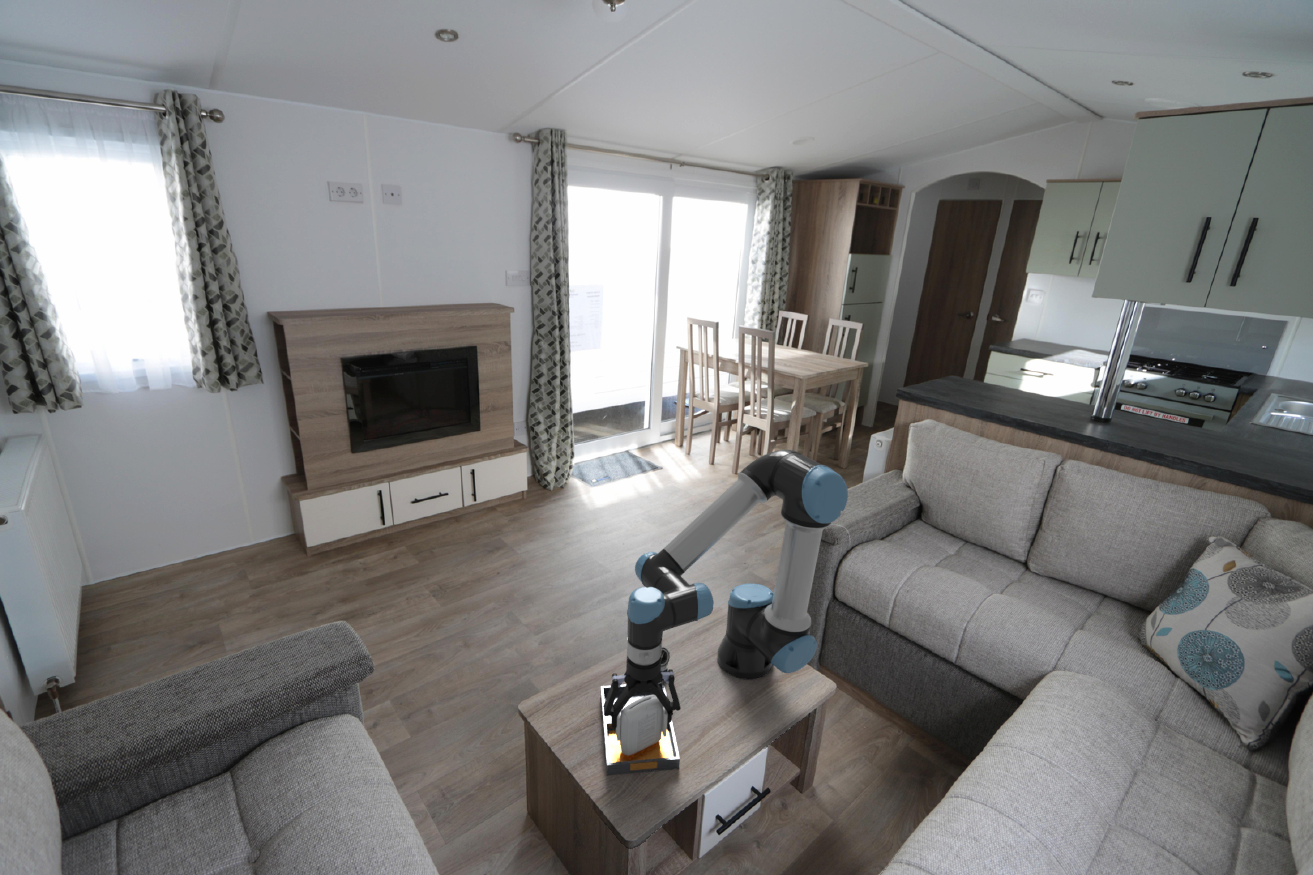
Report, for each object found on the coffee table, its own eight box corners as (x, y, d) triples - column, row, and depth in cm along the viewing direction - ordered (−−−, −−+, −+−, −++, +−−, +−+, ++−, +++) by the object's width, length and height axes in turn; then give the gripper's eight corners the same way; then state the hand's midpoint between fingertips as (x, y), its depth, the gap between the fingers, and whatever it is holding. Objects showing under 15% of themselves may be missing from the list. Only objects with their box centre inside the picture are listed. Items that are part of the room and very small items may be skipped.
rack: (663, 690, 159) (663, 681, 158) (679, 769, 137) (680, 759, 136) (600, 695, 157) (600, 686, 156) (607, 776, 134) (607, 766, 133)
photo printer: (654, 727, 145) (655, 686, 141) (664, 740, 142) (666, 698, 137) (616, 746, 140) (617, 703, 135) (626, 759, 136) (627, 716, 132)
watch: (655, 690, 159) (656, 656, 155) (637, 672, 165) (638, 639, 161) (671, 682, 162) (673, 648, 158) (653, 664, 168) (655, 631, 164)
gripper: (592, 670, 127) (592, 751, 135) (698, 663, 130) (692, 743, 138) (591, 646, 134) (591, 725, 142) (691, 640, 137) (686, 717, 145)
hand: (641, 733), depth 140 cm, fingers open, 10 cm apart
